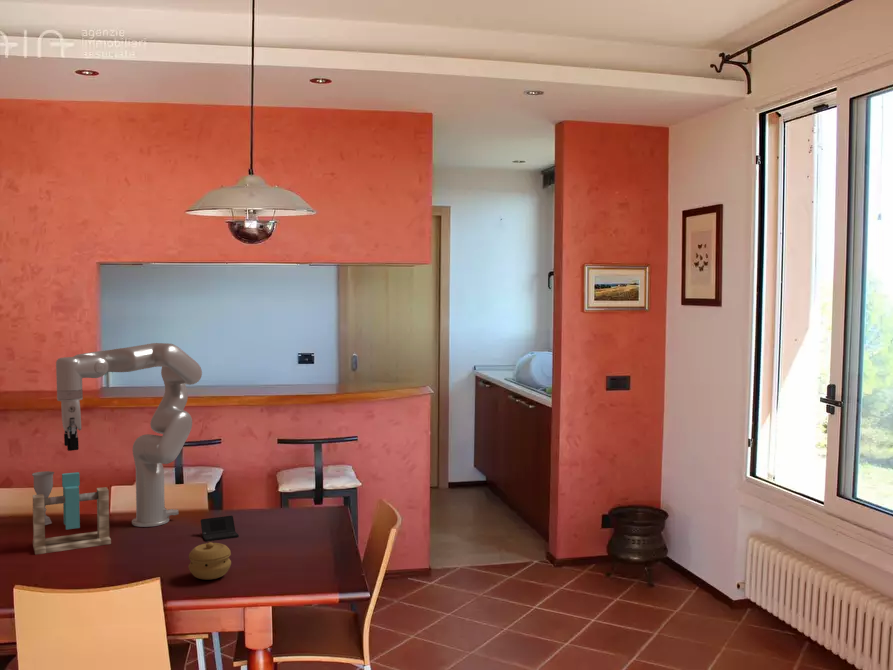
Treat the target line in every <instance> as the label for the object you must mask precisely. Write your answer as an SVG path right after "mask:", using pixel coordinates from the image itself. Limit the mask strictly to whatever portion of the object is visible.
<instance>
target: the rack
mask: <svg viewBox="0 0 893 670" xmlns="http://www.w3.org/2000/svg"><path fill="white" fill-rule="evenodd" d="M109 492H110V491H109V488H108V487H106V486H105V487H96V492H95V491H94V492H87V493H86V492H85V493H79V502H87V501H94V500H96V522H97V529H96V531H90V532H84V533H75V534H69V535H61V536H60V535H59V536H53V537H46V529H45V527H46V525H45V514H46V512H45V513H44V505H46V506H50V505H52V506H53V505H61V504H62V505H63V503H65V496H63V495H58V496H49V497H48V498H44V495H43V494H38V495H37V494H32V532H33V533H32V535H33V537H32V538H33V539H32V547H33V551H34V554H35V555H36V556H37V555H43V554H49V553H55V552H56V553H57V552H62V551H70V550H75V549H76V550H78V549H85V548H92V547H100V546H104V545H111V544H112V538H111V537H110V496H109V495H110V493H109Z"/></svg>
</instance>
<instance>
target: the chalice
mask: <svg viewBox="0 0 893 670" xmlns="http://www.w3.org/2000/svg"><path fill="white" fill-rule="evenodd" d="M54 474H55V472H54V471H49V470H48V471H36V472H33V473H32V474H31V475H32V478H33V489H34V492H35V495H38V494H43V495H44V498H48V497H50V496H51V493H52V489H53V487H54ZM46 506H47V505H44V513H45V526H47V525H51V524H53V522H52V520H51V517H50V516H48V515H47V514H46V512H47V507H46Z"/></svg>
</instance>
